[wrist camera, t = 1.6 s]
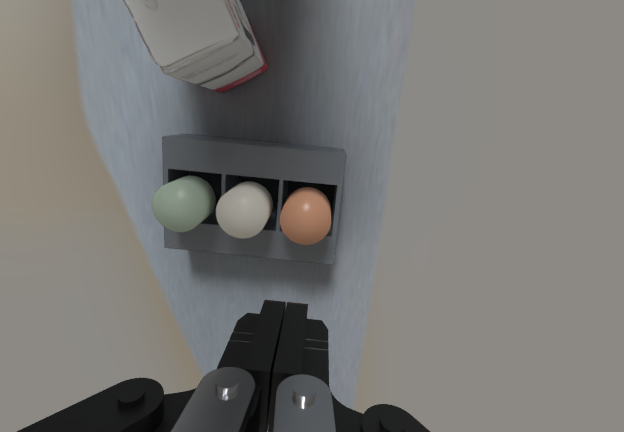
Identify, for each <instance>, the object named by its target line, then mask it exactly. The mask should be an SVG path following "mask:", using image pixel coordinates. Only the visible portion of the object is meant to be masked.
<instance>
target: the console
mask: <svg viewBox="0 0 624 432" xmlns="http://www.w3.org/2000/svg"><path fill="white" fill-rule="evenodd" d="M162 153H163V185H165V184H167V183H170V182H172V181H175V180H177V179H179V178H182V177H184V176H189V171H197V172H207V173H218V174H222V182H221V197H222V196H223V195H224V194H225V193H227V192H228V191H229V190H231V189H232V188H233V187H235V186H236V185H237V184H239V176H248V177H258V178H268V179H279V194H278V209H277V216H276V215H270V217H269V219H268V220H267V222H266V224H265V226H264V227H263V229H262V230H261V231H260V232H259V233H258V234H257V235H255V236H253V237H250V238H245V239H241V238H236V237H233V236H231V235H229V234H227V233H226V232H225V231H224V230H223V229H222V228H221V227H220V225H219V223H218V221H217V218H216V209H214V210H213V211H212V213H211V214H210V215H209V216H208V217H207V218H205V219H204V220H203V221H202V222H201V223H200V224H198V225H197V226H196V227H195V228H193V229H192V230H189V231H186V232H174V231H171V230H169V229H167V228H165V227H164V248H173V249H183V250H193V251H202V252H212V253H222V254H232V255H242V256H252V257H262V258H272V259H282V260H292V261H302V262H312V263H322V264H332V265H333V264H334V255H335V247H336V238H337V230H338V221H339V213H340V204H341V196H342V187H343V179H344V170H345V162H346V153H345V151H344V149H335V148H325V147H314V146H304V145H294V144H284V143H273V142H263V141H253V140H242V139H232V138H222V137H211V136H201V135H191V134H180V135H171V136H163V137H162ZM288 180H289V181H299V182H309V183H319V184H330V185H335V188H334V197H333V206H332V215H331V226H330V229H329V232H328V233H327V235H326V236H325V237H324V238H323V239H322V240H320V241H319V242H317V243H314V244H310V245H302V244H298V243H295V242H293V241H291V240H290V239H289V238H288V237H287V236H286V235H285V234H284V232H283V231H282V228H281V225H280V214H281V211H282V209H283V207H284V204H285V202H286V200H287V193H288Z"/></svg>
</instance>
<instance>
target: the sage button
mask: <svg viewBox="0 0 624 432" xmlns="http://www.w3.org/2000/svg"><path fill="white" fill-rule="evenodd" d="M215 204H216V197H215V193H214V190H213V188H212V187H211V186H210V184H209V183H208V182H207V181H205V180H204V179H202V178H200V177H197V176H184V177H182V178H179V179H177V180H175V181H172V182H170V183H167V184H165V185H163V186H161V187H160V188H159V189H158V190H157V191H156V193H155V195H154V197H153V201H152V209H153V213H154V215H155V217H156V219H157V220H158V222H159V223H160V224H161V225H162V226H164V227H165V228H167V229H169V230H171V231H174V232H186V231H189V230H192V229H193V228H195V227H196V226H197V225H198V224H200V223H201V222H202V221H203V220H204V219H205V218H207V217H208V216H209V215H210V214H211V213H212V211H213V210H214V207H215Z"/></svg>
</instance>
